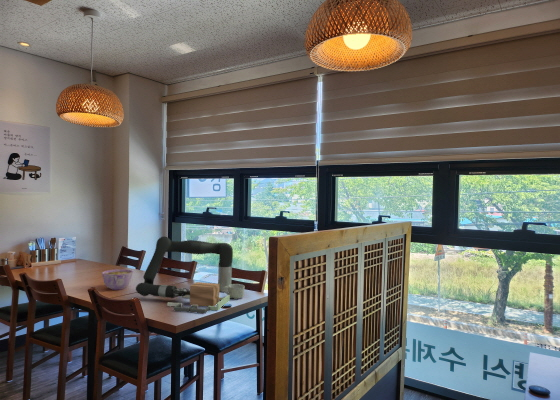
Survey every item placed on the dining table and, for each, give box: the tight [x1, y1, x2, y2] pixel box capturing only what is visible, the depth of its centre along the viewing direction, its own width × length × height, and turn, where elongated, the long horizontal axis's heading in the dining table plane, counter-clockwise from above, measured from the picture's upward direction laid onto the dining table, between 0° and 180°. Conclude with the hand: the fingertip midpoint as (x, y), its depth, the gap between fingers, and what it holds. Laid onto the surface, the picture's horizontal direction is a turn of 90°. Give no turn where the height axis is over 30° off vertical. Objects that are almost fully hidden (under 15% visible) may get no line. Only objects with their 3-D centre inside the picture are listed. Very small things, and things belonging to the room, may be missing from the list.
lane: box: [166, 294, 231, 314], centre depth 233 cm, size 28×32×4 cm
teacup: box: [223, 283, 246, 300], centre depth 252 cm, size 14×11×8 cm
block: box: [189, 281, 220, 308], centre depth 236 cm, size 10×15×12 cm, turn 79°
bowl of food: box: [101, 268, 134, 291], centre depth 269 cm, size 20×20×12 cm
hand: (193, 293), depth 238 cm, fingers closed
